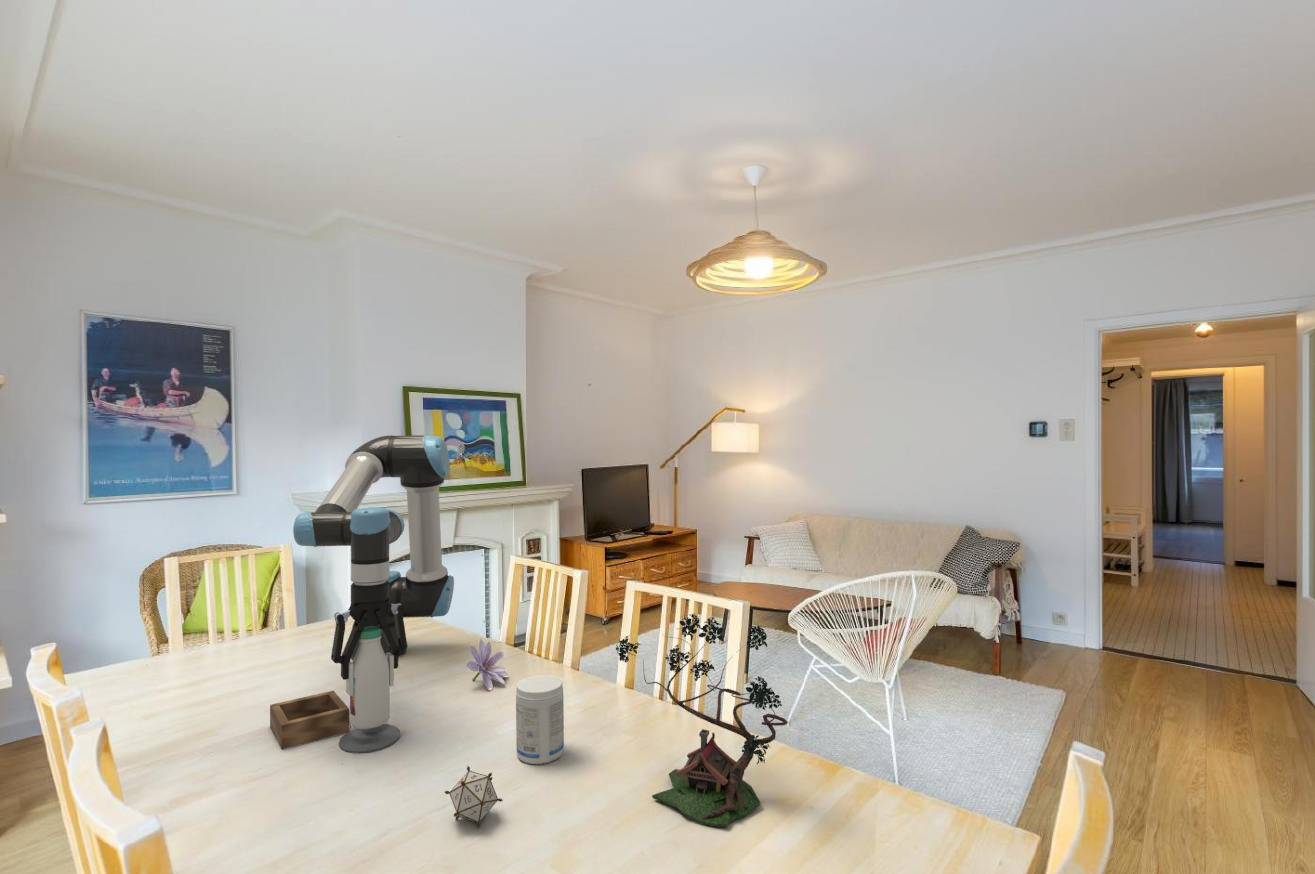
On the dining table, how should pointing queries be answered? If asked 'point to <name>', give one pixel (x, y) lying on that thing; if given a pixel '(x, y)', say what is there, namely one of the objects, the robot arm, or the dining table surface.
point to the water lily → (484, 668)
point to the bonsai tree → (710, 773)
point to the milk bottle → (370, 682)
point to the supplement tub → (539, 719)
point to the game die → (473, 796)
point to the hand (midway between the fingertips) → (370, 688)
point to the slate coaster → (369, 739)
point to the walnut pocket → (308, 719)
